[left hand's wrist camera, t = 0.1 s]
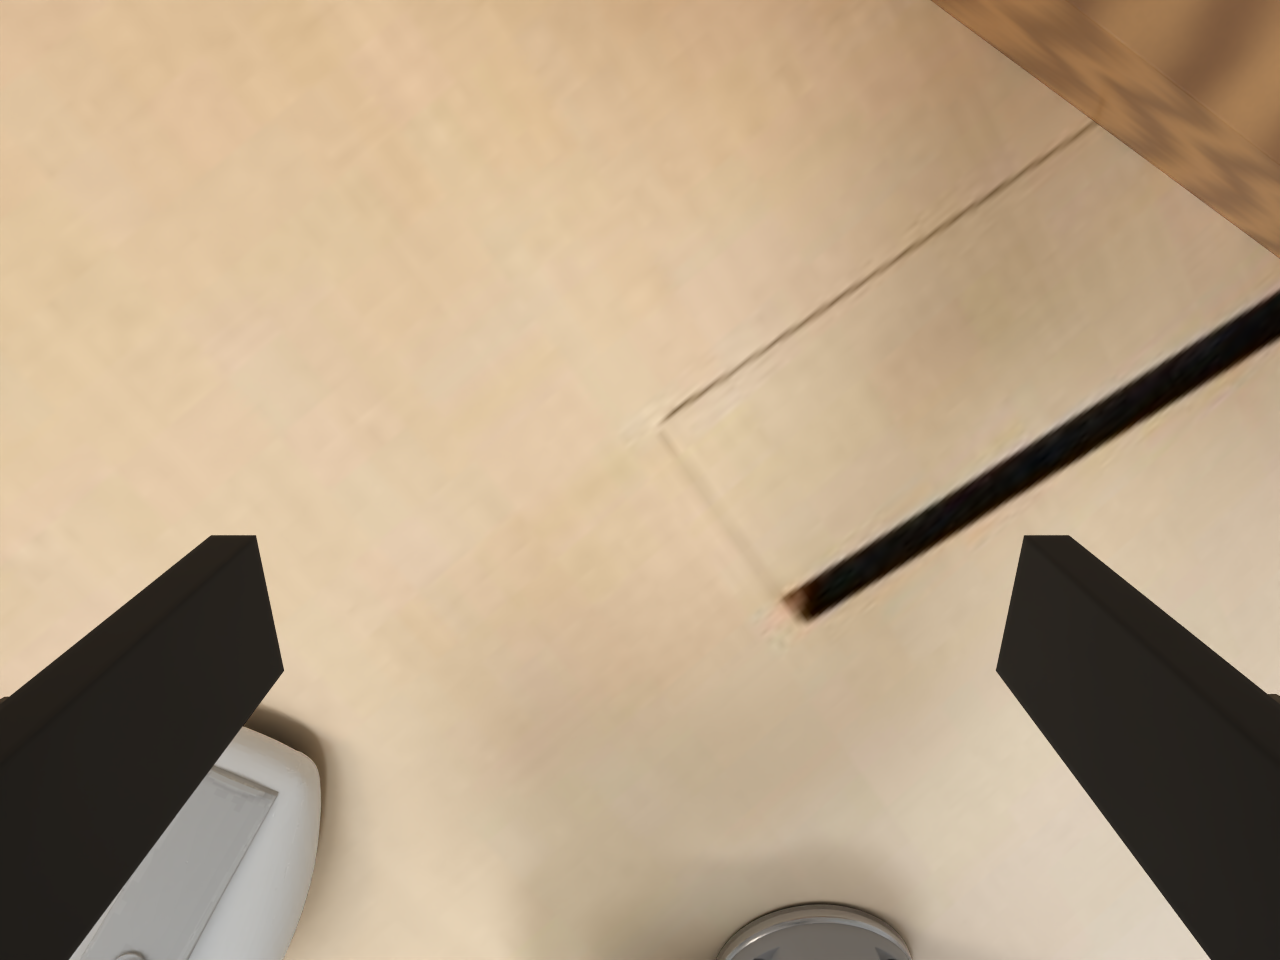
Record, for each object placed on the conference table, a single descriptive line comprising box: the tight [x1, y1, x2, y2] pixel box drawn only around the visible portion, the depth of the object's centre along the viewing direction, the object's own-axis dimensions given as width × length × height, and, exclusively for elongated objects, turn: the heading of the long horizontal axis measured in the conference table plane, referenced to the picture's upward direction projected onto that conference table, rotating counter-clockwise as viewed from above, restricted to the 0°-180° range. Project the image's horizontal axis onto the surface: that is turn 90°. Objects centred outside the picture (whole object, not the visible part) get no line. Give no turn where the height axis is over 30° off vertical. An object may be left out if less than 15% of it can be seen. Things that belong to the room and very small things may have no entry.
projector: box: [69, 727, 321, 960], centre depth 45 cm, size 22×23×15 cm
